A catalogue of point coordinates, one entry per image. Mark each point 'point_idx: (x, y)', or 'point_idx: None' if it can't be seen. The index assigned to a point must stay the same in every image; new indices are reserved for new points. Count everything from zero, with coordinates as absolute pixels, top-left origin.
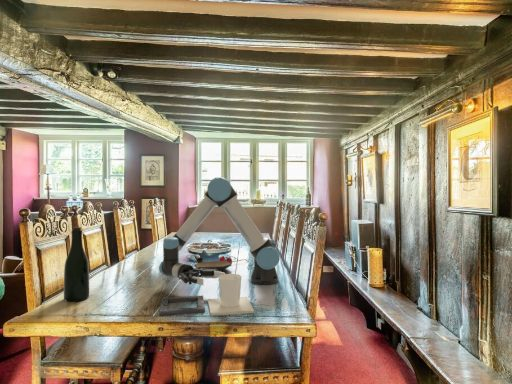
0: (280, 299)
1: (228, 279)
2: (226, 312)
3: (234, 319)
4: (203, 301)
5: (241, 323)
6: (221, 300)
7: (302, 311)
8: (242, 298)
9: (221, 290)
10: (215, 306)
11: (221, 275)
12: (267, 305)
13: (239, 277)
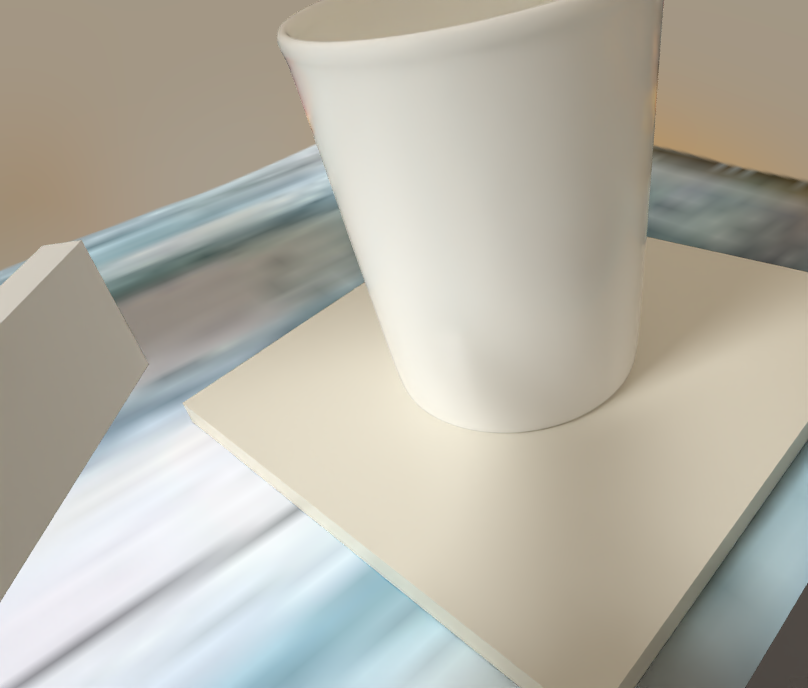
0: (111, 285)
1: (356, 142)
2: (708, 252)
3: (711, 203)
4: (799, 611)
5: (713, 160)
6: (641, 296)
7: (292, 157)
8: (255, 396)
9: (652, 155)
10: (710, 392)
11: (487, 20)
12: (286, 259)
13: (322, 36)
